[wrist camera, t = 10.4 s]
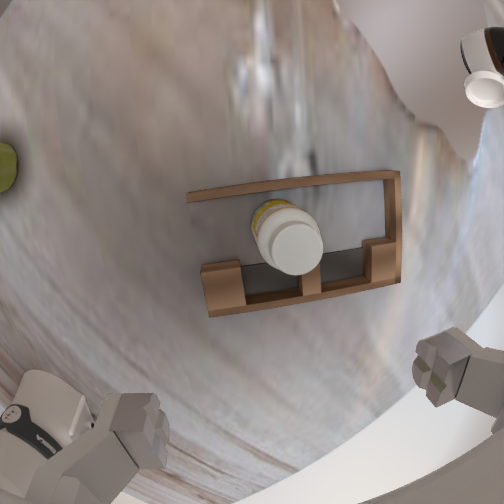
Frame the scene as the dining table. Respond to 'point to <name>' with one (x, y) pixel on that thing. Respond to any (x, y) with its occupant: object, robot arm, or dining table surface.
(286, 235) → the supplement bottle
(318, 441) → the dining table surface
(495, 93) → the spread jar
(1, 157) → the plant pot
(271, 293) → the frame
